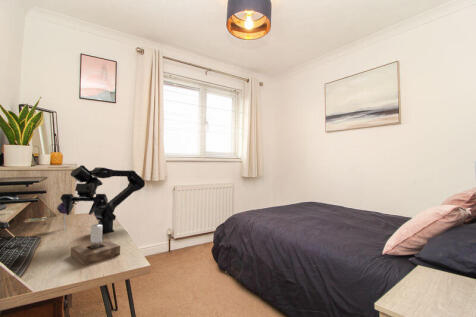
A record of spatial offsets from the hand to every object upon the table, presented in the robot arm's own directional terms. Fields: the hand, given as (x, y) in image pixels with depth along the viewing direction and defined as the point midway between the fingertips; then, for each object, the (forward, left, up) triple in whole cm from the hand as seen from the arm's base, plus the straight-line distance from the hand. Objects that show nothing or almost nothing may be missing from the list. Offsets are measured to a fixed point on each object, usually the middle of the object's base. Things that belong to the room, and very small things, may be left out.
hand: (78, 214), depth 104 cm
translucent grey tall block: (0, +19, -14) cm, 23 cm away
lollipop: (-5, -33, -14) cm, 36 cm away
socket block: (0, +19, -14) cm, 23 cm away
